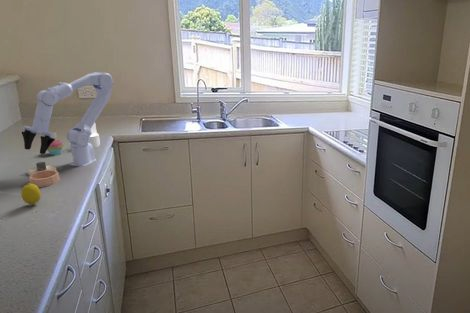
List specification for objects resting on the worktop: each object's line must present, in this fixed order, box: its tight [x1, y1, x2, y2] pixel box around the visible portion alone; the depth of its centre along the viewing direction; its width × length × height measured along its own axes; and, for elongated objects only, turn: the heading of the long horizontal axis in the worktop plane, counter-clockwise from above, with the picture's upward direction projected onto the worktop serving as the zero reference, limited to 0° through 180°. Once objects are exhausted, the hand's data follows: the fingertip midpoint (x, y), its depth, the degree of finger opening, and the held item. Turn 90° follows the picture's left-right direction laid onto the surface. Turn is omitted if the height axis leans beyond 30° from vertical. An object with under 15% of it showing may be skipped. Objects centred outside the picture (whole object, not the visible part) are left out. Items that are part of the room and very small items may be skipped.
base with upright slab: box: [89, 122, 101, 149], centre depth 180 cm, size 9×9×12 cm
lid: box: [26, 161, 57, 177], centre depth 143 cm, size 11×11×4 cm
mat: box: [20, 166, 64, 177], centre depth 144 cm, size 12×12×1 cm
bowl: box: [28, 170, 60, 188], centre depth 133 cm, size 10×10×4 cm
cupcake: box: [47, 129, 64, 156], centre depth 167 cm, size 9×8×12 cm
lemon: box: [21, 182, 42, 206], centre depth 114 cm, size 6×6×8 cm
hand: (34, 151), depth 138 cm, fingers open, 7 cm apart
